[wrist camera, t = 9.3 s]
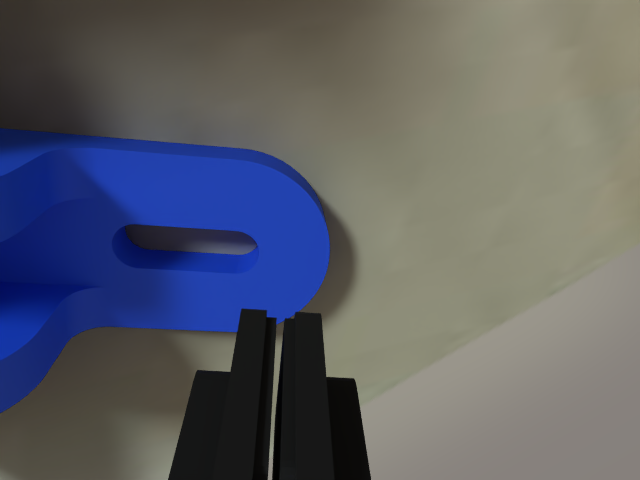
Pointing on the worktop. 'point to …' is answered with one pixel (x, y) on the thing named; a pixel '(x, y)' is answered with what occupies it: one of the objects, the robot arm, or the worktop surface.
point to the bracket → (132, 261)
